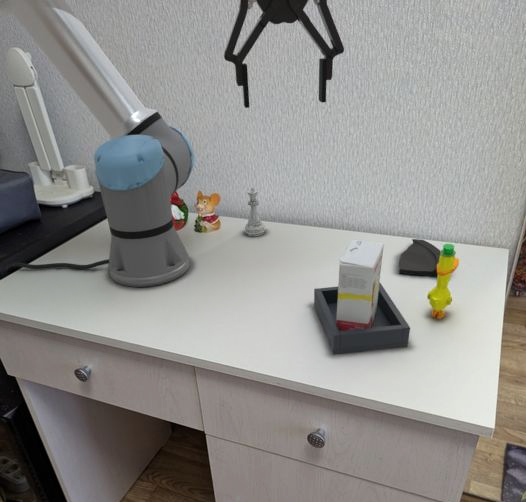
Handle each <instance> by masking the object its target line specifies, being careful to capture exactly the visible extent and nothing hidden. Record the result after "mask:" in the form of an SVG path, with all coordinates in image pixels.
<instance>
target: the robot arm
mask: <svg viewBox="0 0 526 502" xmlns="http://www.w3.org/2000/svg"><path fill="white" fill-rule="evenodd" d="M238 1H239V2H238V3H239V4H238V11H237V14H236V17H235V20H234V23H233V26H232V28H231V32H230V35H229V37H228V40H227V44H226V47H225V49H224V52H223V58H224V60H225V61H226V62H230V63H232V64H233V65H234V70H235V71H234V72H235V73H234V74H235V83H236V85H237V87H242V96H243V106H244V108H245V109H249V108H250V94H249V93H250V92H249V91H250V90H249V77H248V76H249V75H248V73H249V72H248V64H247V63H243V62H244V61H245V60H246V58H247V57H248V54H249V53H250V51H251V50H252V48H253V47H254V45H255V43H256V42H257V41H258V39H259V37H260V36H261V35H262V32H263V31H264V29H265V28H266V27H267V25H268V24H269V23H270V24H272V25H280V24H283V23H285V24H294V23H296V22H298V24H299V25H301V27H302V29H304V31H305V33H306V34H307V35H308V37H309V38H310V40H312V42H313V43H314V44H315V46H316V47H317V48H318V50H319V51H320V53H321V54H322V56H323V58H319V59H318V101H319V102H320V103H327V81H331V80H332V78H333V68H334V67H333V65H334V64H333V63H334V58H335V57H336V56H338V55H339V56H340V55H341V54H343V53H344V52H345V47H344V44H343V42H342V40H341V37H340V34H339V31H338V29H337V26H336V24H335V22H334V18H333V16H332V13H331V11H330V8H329V6H328V0H311V2H312V5H314V6H316V8H317V11H318V14H319V16H320V19H321V21H322V24H323V27H324V29H325V31H326V34H327V36H328V38H329V40H330V44H331V46H332V47H330V46H329V45H328V43H327V42H326V40H325V39H324V37H323V36H322V35H321V33H320V31H318V29H317V28H316V26H315V25H314V24H313V22H312V21H311V19H310V17H309V16H308V14H307V13H306V11H305V8H306V6H307V4H308V2H309V0H238ZM255 3H256V4H257V6H258V7H259V8H260V10H261V12H262V13H261V15H260V16H259V18H258V20H257V21H256V23H255V24H254V26H253V28H252V30H250V33H249V34H248V36H247V37H246V39H245V40H244V42H243V43H242V45H241V46H240V48H239V50H238V52H237V53H236V54H235V53H234V52H235V49H236V46H237V43H238V40H239V37H240V35H241V32H242V29H243V26H244V23H245V21H246V17H247V15H248V11H249V10H251V9H252V8H253V6H254V4H255ZM0 13H4V14H9V15H12V16H14V18H15V19H16V20H17V21H18V22H19V24H20V25H21V26H22V28H24V30H25V31H26V32H27V34H29V37H30V38H31V39H32V40H33V41H34V42H35V44H36V45H37V46H38V47H39V49H40V50H41V51H42V52H43V53H44V55H45V56H46V57H47V59H48V60H49V61H50V63H51V64H52V65H53V66H54V67H55V69H56V71H58V72H59V74H60V75H61V76H62V77H63V79H64V80H65V81H66V82H67V84H68V85H69V86H70V87H71V89H72V90H73V92H75V93H76V95H77V96H78V97H79V99H80V100H81V101H82V102H83V104H84V105H85V106H86V107H87V109H88V110H89V111H90V112H91V114H92V115H93V116H94V117H95V119H96V120H97V121H98V122H99V124H100V125H101V126H102V128H103V129H104V130H105V132H107V134H108V135H109V137H110V139H109V140H108V141H105V142H103V143H102V144H100V145H99V146H98V147H97V148H96V150H95V152H94V156H93V161H94V166H95V167H94V168H95V169H94V170H95V171H94V173H95V177H96V180H97V182H98V186H99V190H100V195H101V198H102V204H103V207H104V211H105V215H106V220H107V225H108V227H109V231H110V236H111V237H110V250H109V256H108V257H109V258H108V259H104V260H100V261H95V262H92V263H87V264H77V263H70V262H69V263H68V262H54V263H43V264H42V263H41V264H32V263H31V264H30V263H24V262H13V263H14V266H8V265H7V266H6V267H5V269H4V272H9V271H11V270H12V269H13V268H16V267H17V268H25V269H29V270H30V269H31V270H41V269H52V268H53V269H54V268H71V269H77V270H88V269H93V268H96V267H100V266H104V265H108V269H109V274H110V278H111V279H112V280H113V281H114V282H116V283H117V284H119V285H122V286H127V287H133V288H135V287H136V288H144V287H146V288H147V287H153V286H159V285H163V284H166V283H170V282H172V281H174V280H177V279H178V278H180V277H182V276H183V275H184V274H186V273H187V272H188V270H189V269H190V268H189V267H190V258H189V253H188V252H187V250H186V248H185V245H184V243H183V241H182V240H181V238H180V236H179V234H178V231H177V230H176V228H175V223H174V218H173V217H174V216H173V211H172V203H171V197H173V196H174V194H175V193H176V192H177V191H178V190H180V188H181V187H184V185H185V184H186V183H187V181H188V180H189V178H190V176H191V174H192V172H193V169H194V165H195V153H194V149H193V146H192V143H191V141H190V140H189V139H188V137H187V136H186V134H185V133H183V131H181V130H180V129H178V128H176V127H175V126H171V125H169V124H168V123H167V122H166V121H165V119H164V118H163V116H162V115H161V114H160V113H159V111H158V110H157V109H153V108H147V107H146V106H144V104H143V103H142V102H141V101H140V99H139V98H138V97H137V95H136V94H135V92H134V91H133V90H132V88H131V87H130V86H129V84H128V83H127V81H126V80H125V79H124V78H123V76H122V75H121V74H120V72H119V71H118V70H117V68H116V67H115V66H114V65H113V63H112V61H111V60H110V59H109V58H108V57H107V55H106V54H105V52H104V51H103V49H102V48H101V47H100V46H99V44H98V43H97V41H96V40H95V39H94V37H93V36H92V35H91V34H90V32H89V31H88V30H87V28H86V26H84V24H83V23H82V22H81V20H80V18H79V17H78V16H77V15H76V14H75V12H74V11H73V10H72V8H71V7H70V5H69V4H68V3H67V2H66V0H0Z"/></svg>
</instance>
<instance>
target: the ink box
mask: <svg viewBox="0 0 526 502" xmlns="http://www.w3.org/2000/svg"><path fill="white" fill-rule="evenodd" d="M384 246H385V244H384V243H380V242H373V241H367V240H366V241H365V240H360V239H352V240H351V241H350V242H349V244H348V245H347V247H346V248H345V250H344V252H343V253H342V255H341V257H340V259H339V260H338V261H339V264H338V265H339V269H338V284H337V287H338V301H337V319H336V325H337V328H338V330H339V331H346V330H355V329H365V328H371V327H372V324H373V321H374V318H375V315H376V311H377V301H378V292H379V283H381V272H382V265H383V264H382V263H383V254H384Z"/></svg>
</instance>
